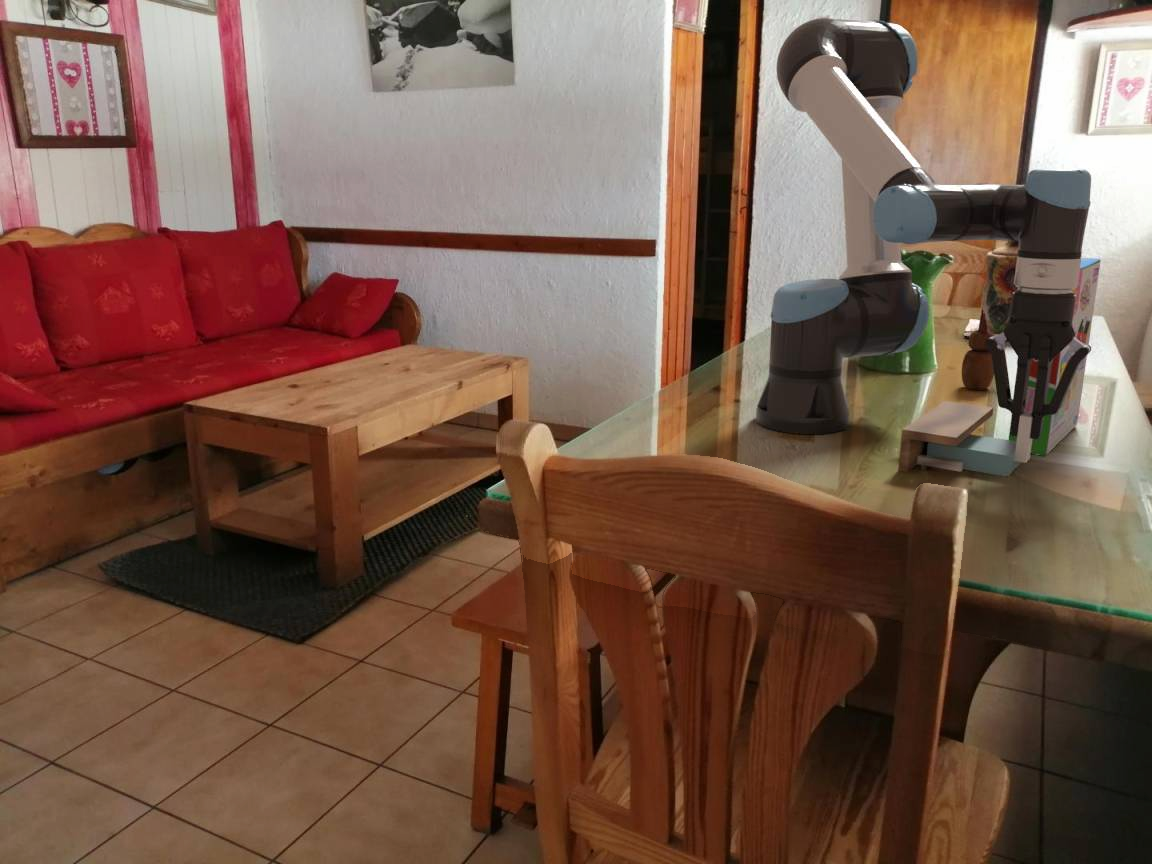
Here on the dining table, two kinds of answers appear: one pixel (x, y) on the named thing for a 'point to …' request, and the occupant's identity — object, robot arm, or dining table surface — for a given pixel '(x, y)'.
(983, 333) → the wooden figurine
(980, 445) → the slate blue rectangular box
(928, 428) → the overhang
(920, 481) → the dining table surface
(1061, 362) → the game box
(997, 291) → the cookie jar
